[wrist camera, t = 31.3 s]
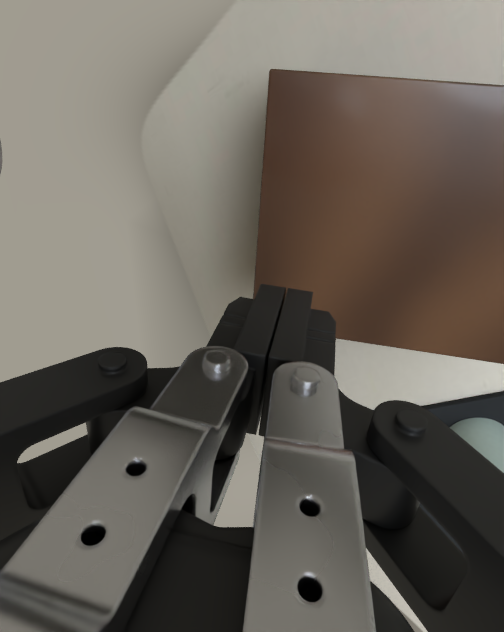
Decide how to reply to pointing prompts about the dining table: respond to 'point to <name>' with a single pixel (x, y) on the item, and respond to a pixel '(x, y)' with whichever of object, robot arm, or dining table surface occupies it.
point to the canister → (483, 438)
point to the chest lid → (388, 207)
